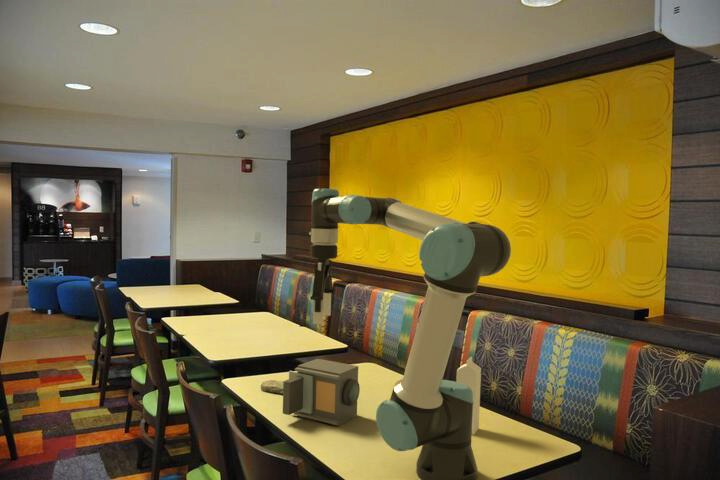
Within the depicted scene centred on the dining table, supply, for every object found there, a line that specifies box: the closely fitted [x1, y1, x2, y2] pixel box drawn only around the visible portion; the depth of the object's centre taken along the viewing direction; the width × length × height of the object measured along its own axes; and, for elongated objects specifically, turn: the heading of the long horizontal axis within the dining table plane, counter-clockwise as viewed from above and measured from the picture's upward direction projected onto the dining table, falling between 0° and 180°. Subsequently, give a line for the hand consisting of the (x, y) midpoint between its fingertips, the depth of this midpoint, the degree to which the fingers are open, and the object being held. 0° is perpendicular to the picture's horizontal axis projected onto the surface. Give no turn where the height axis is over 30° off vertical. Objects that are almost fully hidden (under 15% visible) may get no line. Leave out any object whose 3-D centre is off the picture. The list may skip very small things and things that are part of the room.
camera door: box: [282, 370, 314, 416], centre depth 172 cm, size 9×8×12 cm
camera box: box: [293, 358, 361, 427], centre depth 176 cm, size 18×12×16 cm
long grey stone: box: [260, 379, 284, 395], centre depth 199 cm, size 35×5×10 cm
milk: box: [455, 356, 482, 436], centre depth 168 cm, size 6×6×22 cm
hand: (322, 319), depth 155 cm, fingers open, 13 cm apart
